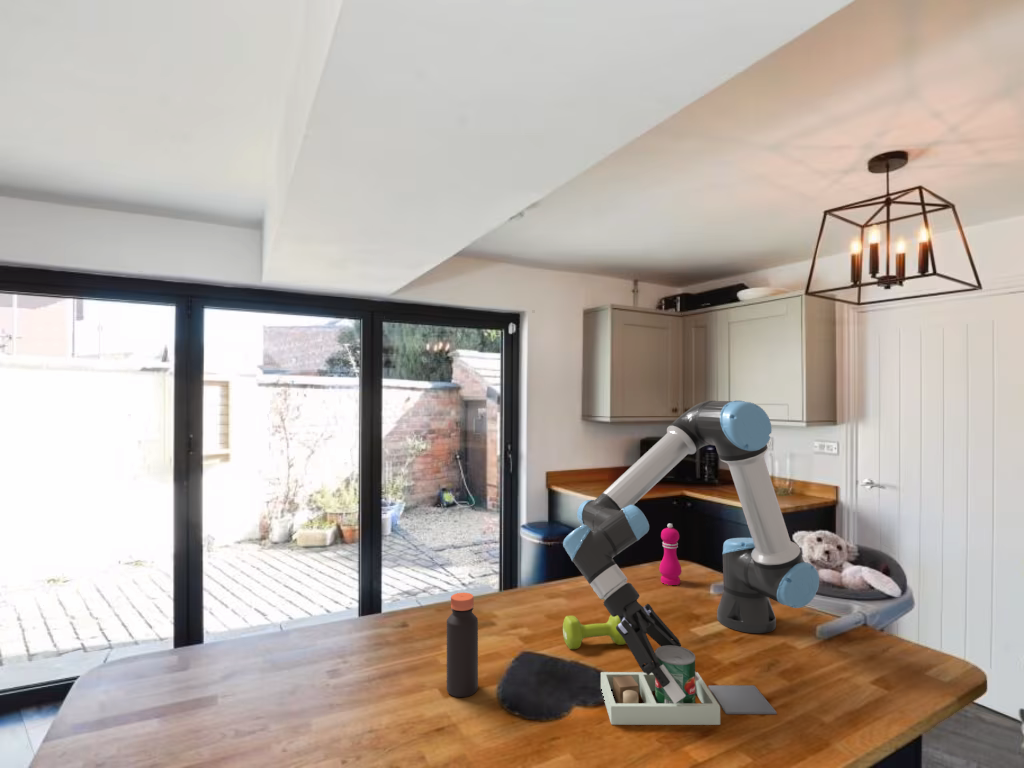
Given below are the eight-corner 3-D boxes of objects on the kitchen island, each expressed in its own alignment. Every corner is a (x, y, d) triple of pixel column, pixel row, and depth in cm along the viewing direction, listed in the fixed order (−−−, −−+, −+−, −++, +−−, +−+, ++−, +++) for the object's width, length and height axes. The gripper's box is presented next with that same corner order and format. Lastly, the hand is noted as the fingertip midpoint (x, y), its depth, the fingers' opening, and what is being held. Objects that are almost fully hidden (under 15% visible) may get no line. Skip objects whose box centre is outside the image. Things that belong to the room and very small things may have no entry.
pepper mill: (682, 580, 187) (681, 521, 187) (681, 587, 180) (680, 526, 181) (660, 578, 189) (659, 520, 190) (658, 585, 183) (658, 525, 183)
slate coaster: (754, 687, 119) (754, 685, 119) (776, 714, 109) (776, 712, 109) (708, 687, 119) (708, 685, 119) (726, 714, 109) (726, 712, 109)
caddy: (697, 688, 118) (697, 672, 118) (720, 724, 105) (720, 706, 105) (600, 688, 119) (600, 672, 119) (611, 724, 106) (611, 706, 106)
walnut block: (631, 694, 116) (631, 675, 116) (638, 705, 112) (638, 685, 112) (613, 696, 116) (613, 677, 116) (620, 707, 112) (619, 687, 112)
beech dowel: (636, 709, 110) (636, 689, 111) (640, 718, 108) (639, 698, 108) (621, 709, 111) (621, 689, 111) (624, 718, 108) (624, 698, 108)
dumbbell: (620, 635, 145) (620, 607, 145) (632, 648, 137) (631, 619, 138) (560, 640, 142) (560, 612, 142) (569, 654, 134) (568, 624, 135)
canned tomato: (649, 698, 114) (649, 645, 115) (686, 696, 115) (685, 644, 115) (663, 721, 107) (663, 664, 107) (702, 719, 107) (702, 662, 107)
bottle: (470, 700, 114) (469, 604, 114) (440, 694, 116) (440, 600, 117) (482, 684, 120) (482, 593, 121) (455, 679, 123) (455, 589, 123)
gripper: (624, 589, 129) (691, 679, 119) (581, 614, 112) (655, 722, 102) (645, 570, 127) (716, 662, 116) (605, 593, 110) (683, 703, 99)
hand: (687, 690), depth 109 cm, fingers open, 8 cm apart
